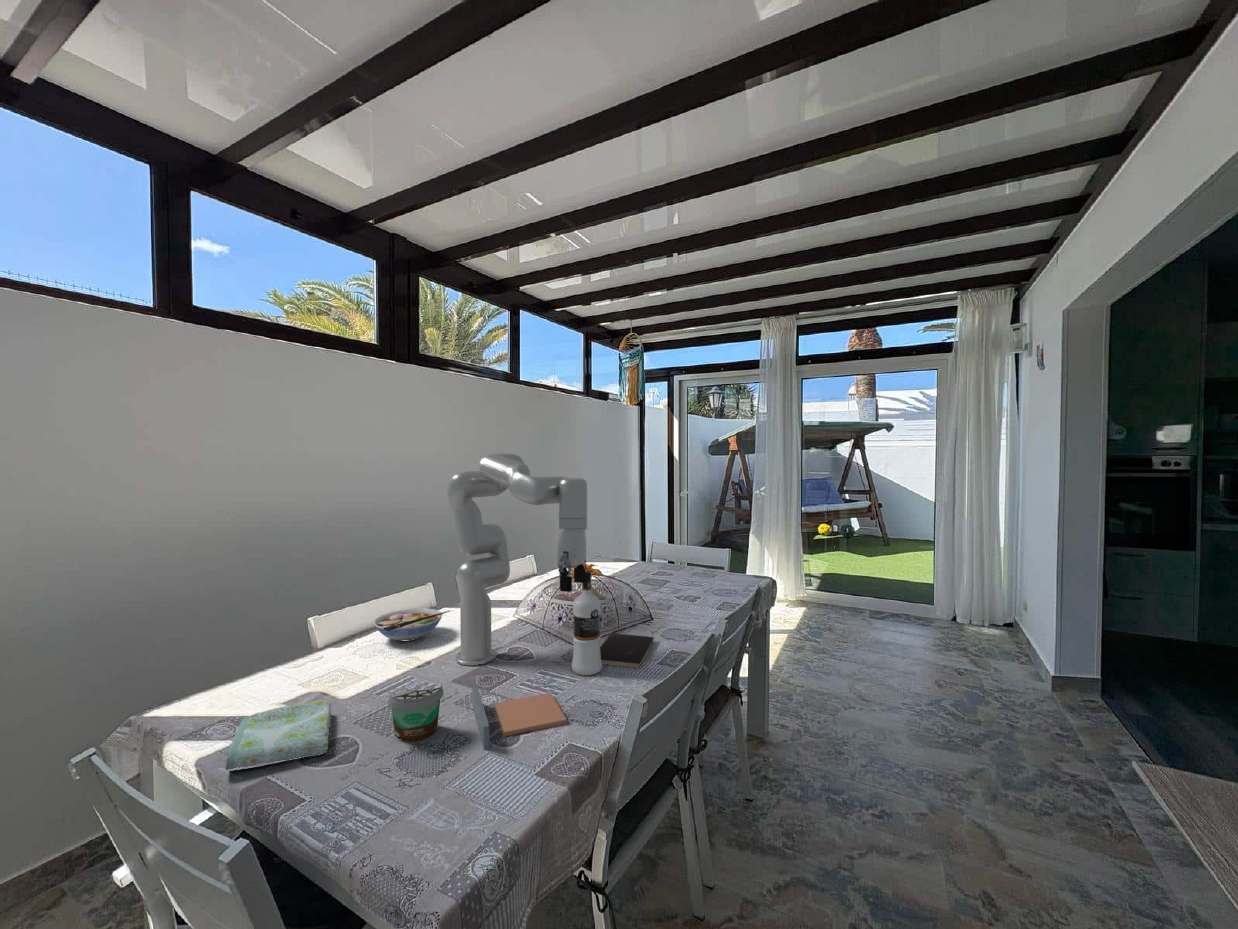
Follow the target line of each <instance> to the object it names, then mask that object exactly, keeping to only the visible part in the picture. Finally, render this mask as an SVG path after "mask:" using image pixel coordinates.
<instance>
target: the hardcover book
mask: <svg viewBox="0 0 1238 929" xmlns="http://www.w3.org/2000/svg"><path fill="white" fill-rule="evenodd" d="M654 639H655V637H654V636H645V635H638V634H637V635H636V634H635V635H634V634H627V633H626V634H624V633H616V632H615V633H614V632H612V633H610V634H609V635H608V636H607V637H606V639H605V640H604V641H603V643H602V644H600V653H601V660H602V665H607V664H608V665H609V666H617V667H626V668H627V667H628V668H634V667H639V666H640V667H641V665H642V663H643V661H644V659H645V658H644V657H646V656H647V654H648V652H649V650H650V648H651V647H650V646H652V645H651V643H652V642H653V643H654ZM653 643H652V644H653ZM649 647H650V648H649ZM648 649H649V650H648ZM647 651H648V652H647ZM646 653H647V654H646ZM645 655H646V656H645ZM643 658H644V659H643ZM641 662H642V663H641ZM640 664H641V665H640ZM640 667H639V668H640Z"/></svg>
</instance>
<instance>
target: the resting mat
mask: <svg viewBox="0 0 1238 929" xmlns="http://www.w3.org/2000/svg"><path fill="white" fill-rule="evenodd" d="M493 707H494V710H495V713H496V716H497V719H498V722H499V725H500V728H501V730H502V734H503V737H508V736H513V735H518V734H522V732H523V733H528V732H532V731H536V730H537V731H538V730H541V729H547V728H552V727H556V726H557V727H558V726H561V725H566V724H567V723H568V722H567V718H566V716H565V714H564V712H563V711H562V708H561V707H560V706H559V704H558V702H557V701H556V699H555V697H554V696H553V694H552V692H548V693H543V694H542V693H541V694H537V695H530V696H525V697H520V698H515V699H509V700H503V701H498V702H494V703H493Z"/></svg>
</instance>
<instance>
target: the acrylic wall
mask: <svg viewBox="0 0 1238 929" xmlns="http://www.w3.org/2000/svg"><path fill="white" fill-rule="evenodd" d="M478 686H479V685H477V684H473V685H471V687H472V688H471V690H472V691H471V692H472V693H471V695H472V696H471V704H472V708H473V712H474V716H475V721H476V724H477V727H478V731H479V732H480V733H479V732H478V733H479V736H481V737H480V740H482V741H481V743H482V747H483V750H486V749H490V723H489V721H488V717H487V714H486V711H485V707H484V704H483V701H482V696H481V693H480V691H479V687H478Z"/></svg>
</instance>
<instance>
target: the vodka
mask: <svg viewBox="0 0 1238 929" xmlns="http://www.w3.org/2000/svg"><path fill="white" fill-rule="evenodd" d="M601 604H602V603H601V600H600V598H599V597H598V596H596V595H595V594H593V592H592V571H590V570H589V571H587V570H585V583H582V593H581V594H579V595H578V596H576V597H575V599H574V600H573V603H572V610H573V611H572V614H573V637H572V640H573V649H572V650H573V652H572V659H571V660H572V661H571V670H572V672H573V673H574V674H577V675H578V676H579V675H580V676H593V674H594V675H596V674H597V673H599V672H601V670H602V668H603V664H602V660H601V653H600V646H601V639H602V637H601Z"/></svg>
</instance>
